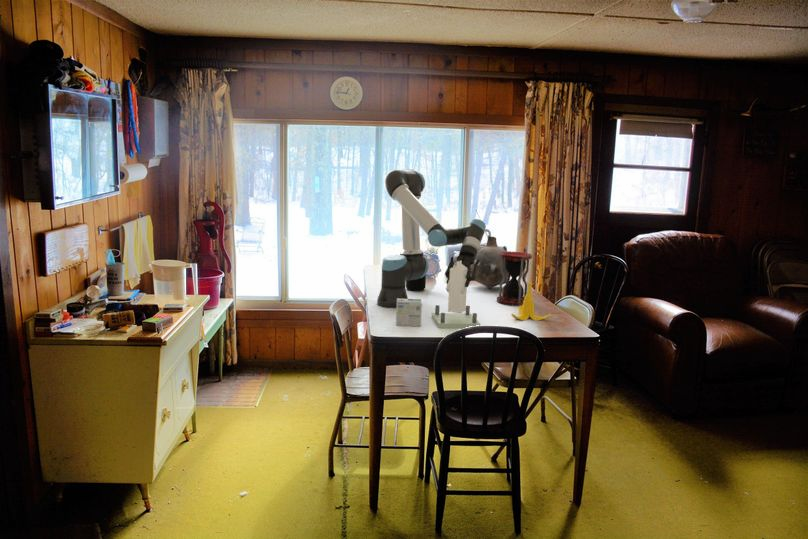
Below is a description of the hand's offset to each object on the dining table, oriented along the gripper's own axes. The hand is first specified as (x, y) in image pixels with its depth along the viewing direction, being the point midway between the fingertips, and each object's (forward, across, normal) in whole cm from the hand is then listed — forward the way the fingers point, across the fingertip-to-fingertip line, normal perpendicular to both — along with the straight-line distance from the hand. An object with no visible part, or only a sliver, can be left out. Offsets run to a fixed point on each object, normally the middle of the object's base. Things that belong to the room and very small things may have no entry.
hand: (454, 291), depth 273 cm
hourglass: (-31, -10, -53) cm, 62 cm away
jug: (-51, +11, -72) cm, 89 cm away
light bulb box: (+18, +17, -4) cm, 25 cm away
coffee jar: (-31, +44, -52) cm, 75 cm away
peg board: (+8, 0, -13) cm, 15 cm away
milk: (+4, 0, -9) cm, 10 cm away
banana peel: (-11, -27, -33) cm, 44 cm away
